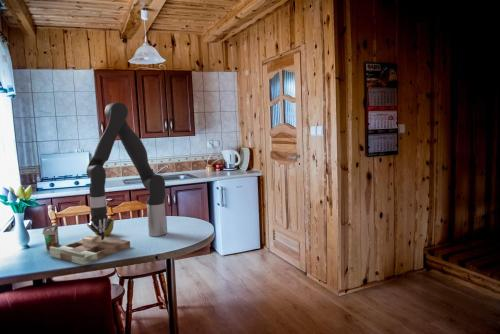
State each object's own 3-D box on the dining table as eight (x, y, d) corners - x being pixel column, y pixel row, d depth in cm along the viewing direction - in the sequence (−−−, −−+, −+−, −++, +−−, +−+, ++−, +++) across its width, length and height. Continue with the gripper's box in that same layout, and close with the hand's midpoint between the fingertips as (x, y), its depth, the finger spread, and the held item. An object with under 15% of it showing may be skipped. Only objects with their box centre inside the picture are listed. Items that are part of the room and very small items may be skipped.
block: (93, 242, 182) (93, 234, 181) (101, 244, 179) (101, 236, 178) (82, 246, 176) (82, 237, 176) (90, 247, 173) (90, 239, 173)
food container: (46, 244, 190) (44, 226, 189) (59, 243, 192) (57, 224, 191) (41, 252, 179) (39, 232, 178) (56, 250, 181) (54, 230, 180)
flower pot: (105, 232, 210) (104, 216, 209) (115, 234, 206) (114, 218, 205) (91, 236, 203) (90, 220, 202) (102, 238, 198) (100, 222, 197)
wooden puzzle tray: (98, 240, 195) (97, 232, 194) (130, 247, 182) (129, 238, 182) (50, 256, 172) (49, 247, 172) (83, 264, 160) (82, 254, 159)
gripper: (104, 202, 188) (107, 235, 189) (81, 207, 176) (84, 242, 178) (114, 203, 184) (117, 237, 186) (91, 208, 172) (94, 244, 174)
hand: (101, 239), depth 182 cm, fingers closed
